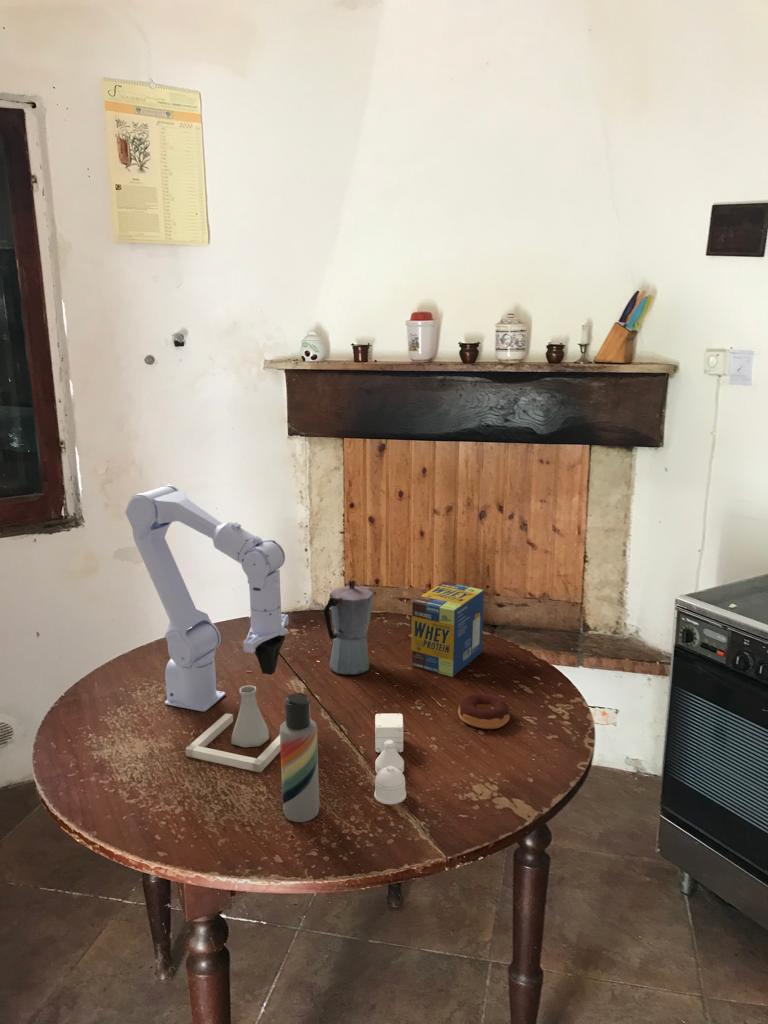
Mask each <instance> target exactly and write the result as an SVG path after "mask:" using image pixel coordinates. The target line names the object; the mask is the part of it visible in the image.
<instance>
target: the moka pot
mask: <svg viewBox="0 0 768 1024" xmlns="http://www.w3.org/2000/svg"><path fill="white" fill-rule="evenodd" d="M371 590H372V588H371V587H368V586H356V581H355V580H349V581H348V586H342V587H336V588H334V589H333V590H331V592H330V593H329V598H328V601H327V603H326V605H325V606H324V609H323V616H324V619H325V624H326V628H327V632H328V637H329V639H330V640H333V644H332V649H331V655H330V662H329V668H330V670H331V671H333V672H334V673H336V674H340V675H345V676H346V675H348V676H350V675H360V674H363V673H365V672H367V671H368V670H370V661H369V650H368V641H367V640H368V639H367V634H368V627H369V625H370V620H371V613H372V608H373V607H372V606H373V600H374V599H373V598H374V592H373V591H371ZM330 609H331V615H330V613H329V612H330ZM331 620H332V623H331ZM332 626H333V627H334V629H332ZM333 630H334V631H333Z"/></svg>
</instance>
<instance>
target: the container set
mask: <svg viewBox="0 0 768 1024" xmlns="http://www.w3.org/2000/svg"><path fill="white" fill-rule="evenodd" d="M403 718H404V717H403V714H402V713H399V712H398V713H395V712H394V713H376V714H375V718H374V724H375V725H374V730H375V731H374V739H375V743H374V745H375V746H374V748H375V749H374V751H375V752H377V753H380V754H378V757H377V758H376V759H375V760H374V761H375V762H374V765H375V766H374V769H375V772H376V775H375V779H374V786H375V788H374V790H373V791H374V792H373V795H374V798H375V800H376V801H377V802H379V803H381V804H384V805H397V804H400V803H402V802H403V801H404V800H405V799H406V797H407V790H406V779H405V778H406V777H405V775H404V774H403V773H404V771H405V760H404V759H403V757H402V756H401V755H400V754H399V753H402V752H404V719H403Z"/></svg>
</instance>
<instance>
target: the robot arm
mask: <svg viewBox="0 0 768 1024" xmlns="http://www.w3.org/2000/svg"><path fill="white" fill-rule="evenodd" d="M124 513H125V515H126V517H127V519H128V522H129V524H130V526H131V529H132V536H133V540H134V543H135V545H136V547H137V550H138V551H139V554H140V557H141V558H142V561H143V563H144V566H145V567H146V570H147V572H148V574H149V577H150V579H151V582H152V583H153V586H154V588H155V590H156V591H157V594H158V596H159V599H160V601H161V604H162V606H163V608H164V610H165V612H166V615H167V617H168V619H169V623H168V625H167V627H166V630H165V633H164V637H165V639H166V642H167V650H168V655H169V657H170V659H169V660H168V662H167V664H166V667H165V671H164V673H165V674H164V678H165V689H166V700H165V701H164V704H165V705H168V706H172V707H177V708H182V709H183V708H184V709H188V710H193V711H199V712H207V710H209V709H210V708H211V707H213V706H214V704H216V703H217V702H218V701H220V700H221V699H222V698H223V697H224V696H225V695H226V692H225V691H220V690H217V679H216V664H215V655H216V649H217V648H218V647H219V646H220V644H221V641H222V638H221V632H220V631H219V628H218V627H217V626H216V625H215V624H214V623H213V622H212V620H211V619H210V617H209V615H208V613H206V612H204V611H201V610H199V609H197V608H196V605H195V604H194V600H193V599H192V597H191V594H190V591H189V590H188V588H187V586H186V583H185V581H184V579H183V576H182V574H181V572H180V569H179V567H178V564H177V562H176V560H175V557H174V555H173V554H172V551H171V549H170V547H169V544H168V542H167V539H166V538H165V537H166V536H167V535H166V534H167V532H168V530H169V527H170V525H171V524H172V523H173V522H175V523H176V522H179V523H182V524H183V525H185V526H187V527H190V528H191V529H193V530H195V531H197V532H199V533H201V534H202V535H204V536H206V537H208V538H210V539H212V542H213V546H214V548H215V549H216V550H218V551H220V552H221V553H222V554H224V555H226V556H228V557H229V558H231V559H232V560H234V561H235V562H237V563H238V564H241V565H240V566H241V568H242V570H243V572H244V573H245V575H246V577H247V584H248V588H249V607H250V612H249V613H250V628H249V631H248V634H247V636H246V638H245V640H244V641H243V642H242V646H243V647H242V648H243V653H251V654H255V657H256V658H257V661H258V663H259V667H260V670H261V673H262V674H265V675H270V676H272V675H273V674H274V673H276V672H275V671H276V669H277V664H278V658H279V654H280V652H281V649H282V646H283V643H284V641H285V639H286V636H285V635H286V634H288V629H287V628H286V627H287V626H288V625H289V614H286V613H285V614H284V613H282V598H281V597H282V596H281V595H282V594H281V572H280V569H281V567H283V565H284V563H285V561H286V554H285V551H284V548H283V547H282V546H281V545H280V544H279V543H278V542H277V541H276V540H274V539H266V540H265V539H262V538H261V537H259V536H256V535H254V534H253V533H250V532H249V531H247V530H245V529H244V528H242V525H241V524H240V523H238V522H237V521H235V522H232V521H228V522H224V523H222V522H221V521H219V520H218V519H217V518H215V517H214V516H212V515H211V514H210V513H208V512H207V511H206V510H204V509H202V508H201V507H200V506H199V505H197V504H196V503H194V502H193V501H192V500H190V499H189V498H188V496H187V494H186V492H185V491H182V490H181V489H178V488H177V487H176V486H175V485H171V484H164V485H162V486H161V487H158V488H154V489H152V490H148V491H145V492H142V493H136V494H134V495H132V496H131V498H129V500H128V504H127V507H126V509H125V511H124ZM285 626H286V627H285Z"/></svg>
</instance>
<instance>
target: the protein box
mask: <svg viewBox="0 0 768 1024" xmlns="http://www.w3.org/2000/svg"><path fill="white" fill-rule="evenodd" d="M484 600H485V590H484V589H481V588H477V587H472V586H467V585H462V584H458V583H452V582H448V581H443V582H440V583H439V584H438V585H437V586H435V587H432V589H430V590H428V591H427V592H425V593H424V594H422V595H420V596H419V597H417V598H416V599H413V600H412V601H411V667H415V668H417V669H421V670H424V671H425V670H426V671H429V672H432V673H435V674H436V673H437V674H440V675H443V676H448V677H451V678H453V677H454V676H455V675H457V674H458V673H459V672H460V671H461V670H463V669H464V668H465V667H466V666H468V665H469V664H470V663H471V662H472V661H473V660H475V659H476V658H477V657H478V656H479V655H481V654H482V653H483V635H484V634H483V633H484V605H485V604H484V602H485V601H484Z"/></svg>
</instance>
